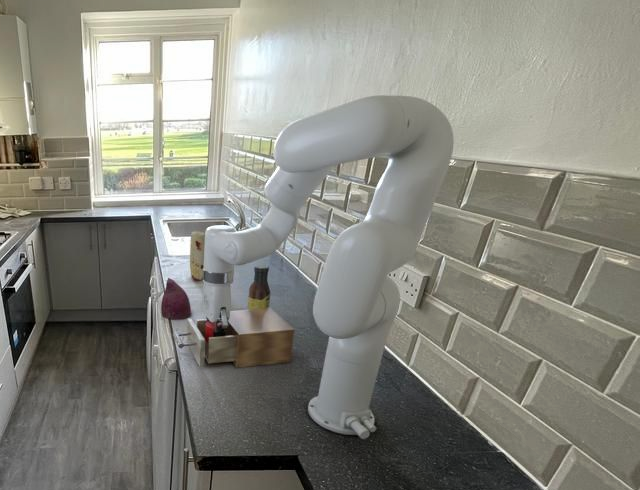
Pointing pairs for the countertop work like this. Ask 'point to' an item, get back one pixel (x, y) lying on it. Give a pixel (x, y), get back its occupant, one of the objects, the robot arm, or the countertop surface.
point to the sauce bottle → (259, 289)
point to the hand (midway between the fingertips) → (214, 338)
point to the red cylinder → (209, 330)
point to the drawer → (212, 351)
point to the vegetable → (175, 302)
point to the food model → (197, 255)
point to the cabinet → (261, 337)
